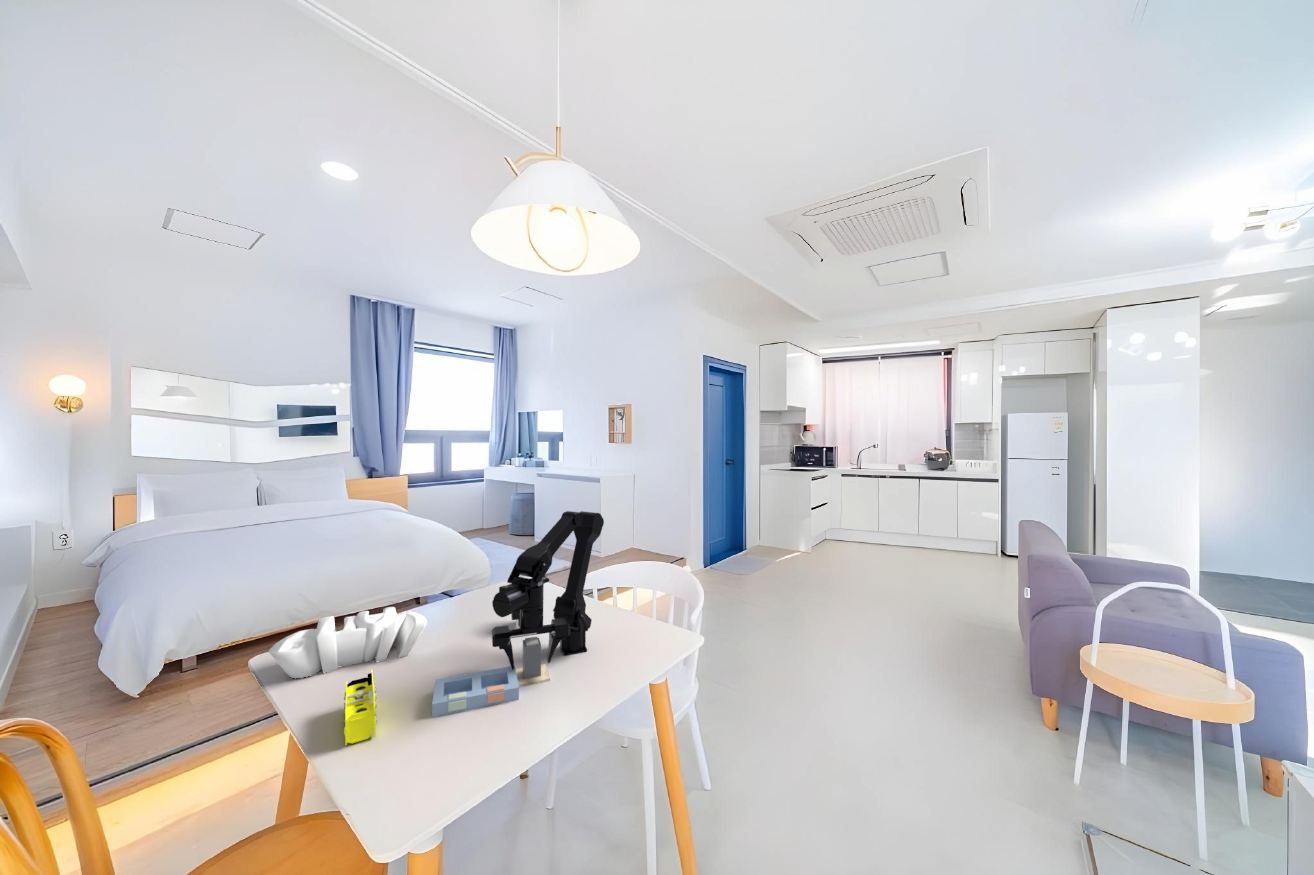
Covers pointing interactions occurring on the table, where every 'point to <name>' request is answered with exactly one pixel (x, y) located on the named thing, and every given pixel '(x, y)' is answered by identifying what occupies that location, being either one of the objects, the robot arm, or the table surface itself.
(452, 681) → the dock
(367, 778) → the table surface
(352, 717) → the yellow toy chassis
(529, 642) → the plug
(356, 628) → the wavy white extrusion
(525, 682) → the coaster
